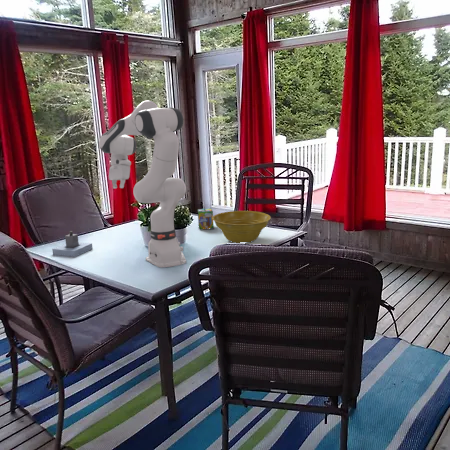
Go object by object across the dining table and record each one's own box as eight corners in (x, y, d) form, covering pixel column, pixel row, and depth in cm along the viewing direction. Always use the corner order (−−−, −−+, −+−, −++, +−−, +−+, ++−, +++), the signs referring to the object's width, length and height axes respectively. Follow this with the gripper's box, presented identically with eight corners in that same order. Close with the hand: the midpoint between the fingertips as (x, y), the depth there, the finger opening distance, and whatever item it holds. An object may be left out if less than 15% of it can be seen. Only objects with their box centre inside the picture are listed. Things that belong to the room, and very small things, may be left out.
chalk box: (213, 229, 256) (212, 205, 253) (198, 230, 255) (197, 206, 252) (212, 225, 265) (211, 202, 262) (198, 226, 264) (197, 203, 261)
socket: (92, 248, 222) (91, 243, 222) (74, 256, 210) (74, 251, 209) (71, 246, 227) (70, 241, 227) (52, 254, 215) (52, 248, 214)
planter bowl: (282, 243, 224) (282, 218, 221) (229, 252, 210) (228, 226, 207) (252, 230, 252) (252, 208, 249) (203, 237, 238) (202, 214, 235)
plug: (79, 250, 220) (77, 230, 217) (73, 253, 216) (71, 232, 213) (72, 250, 221) (70, 230, 219) (67, 252, 217) (64, 232, 215)
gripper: (106, 163, 229) (105, 188, 229) (120, 160, 212) (119, 187, 212) (117, 164, 232) (116, 189, 233) (132, 161, 216) (131, 188, 216)
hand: (118, 188), depth 222 cm, fingers open, 8 cm apart
